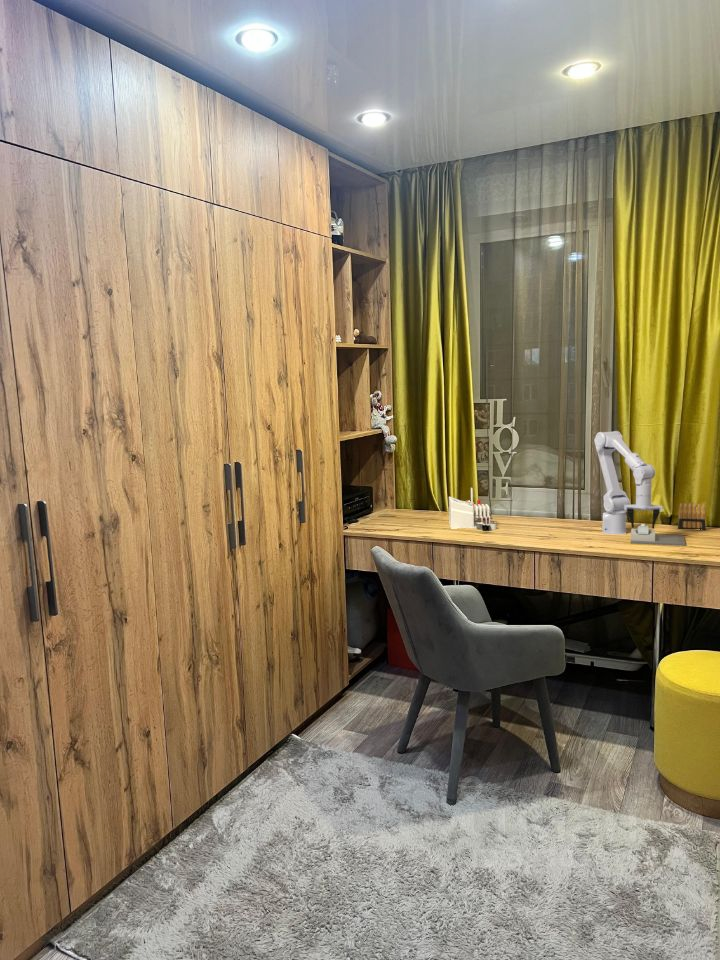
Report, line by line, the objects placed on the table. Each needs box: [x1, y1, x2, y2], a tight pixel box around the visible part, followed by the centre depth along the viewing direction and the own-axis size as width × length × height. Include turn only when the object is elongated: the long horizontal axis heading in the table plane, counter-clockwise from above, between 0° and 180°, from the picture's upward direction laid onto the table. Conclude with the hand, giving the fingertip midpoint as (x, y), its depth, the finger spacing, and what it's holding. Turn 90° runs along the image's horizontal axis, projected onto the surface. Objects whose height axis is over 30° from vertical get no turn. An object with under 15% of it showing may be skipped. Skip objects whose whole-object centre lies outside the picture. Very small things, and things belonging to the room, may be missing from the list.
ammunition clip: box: [677, 502, 707, 531], centre depth 296 cm, size 11×2×12 cm, turn 69°
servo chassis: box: [630, 528, 686, 547], centre depth 280 cm, size 20×16×4 cm
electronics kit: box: [448, 487, 497, 532], centre depth 330 cm, size 45×26×16 cm, turn 177°
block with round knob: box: [637, 523, 649, 534], centre depth 282 cm, size 4×10×5 cm, turn 158°
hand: (642, 527), depth 282 cm, fingers open, 7 cm apart
